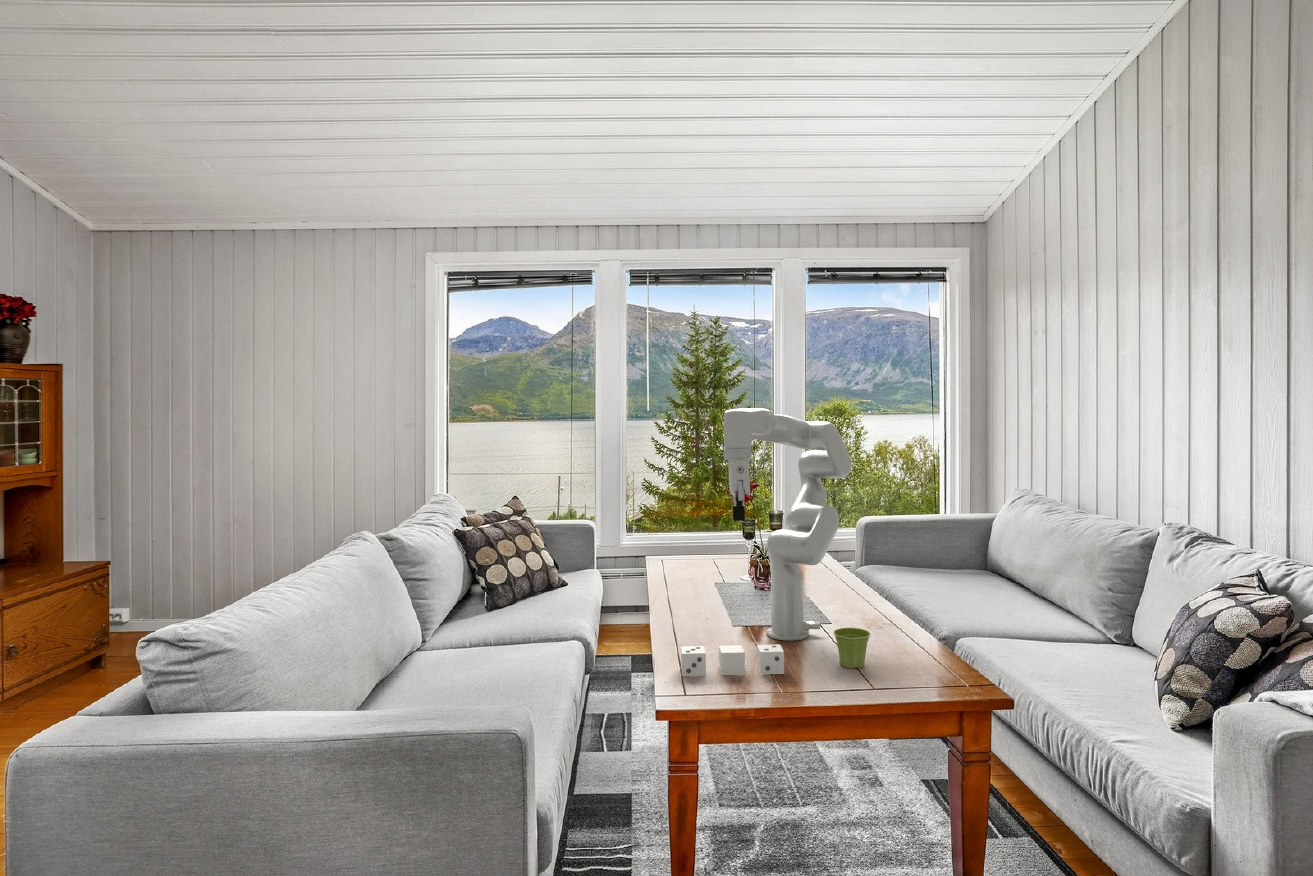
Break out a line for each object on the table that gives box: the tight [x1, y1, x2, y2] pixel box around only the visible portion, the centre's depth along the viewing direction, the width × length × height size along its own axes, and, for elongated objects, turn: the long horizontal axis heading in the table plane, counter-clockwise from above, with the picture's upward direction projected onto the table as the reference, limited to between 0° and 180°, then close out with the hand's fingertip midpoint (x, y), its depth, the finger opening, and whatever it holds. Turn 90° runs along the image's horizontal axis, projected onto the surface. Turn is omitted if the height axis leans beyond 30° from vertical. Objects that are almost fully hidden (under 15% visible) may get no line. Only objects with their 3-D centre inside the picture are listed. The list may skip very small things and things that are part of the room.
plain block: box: [718, 644, 746, 676], centre depth 202 cm, size 6×6×6 cm
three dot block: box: [680, 645, 707, 677], centre depth 201 cm, size 6×6×6 cm
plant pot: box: [833, 627, 871, 669], centre depth 205 cm, size 9×9×9 cm
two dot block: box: [756, 643, 785, 675], centre depth 202 cm, size 6×6×6 cm
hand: (738, 520), depth 215 cm, fingers closed
